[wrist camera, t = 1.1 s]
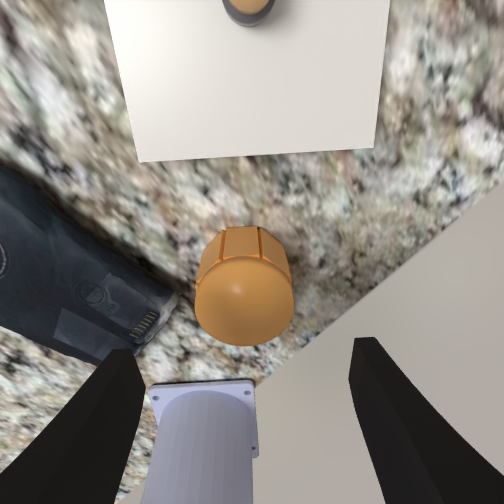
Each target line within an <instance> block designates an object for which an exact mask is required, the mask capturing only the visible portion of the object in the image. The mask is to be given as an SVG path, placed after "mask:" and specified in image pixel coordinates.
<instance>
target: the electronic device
mask: <svg viewBox="0 0 504 504" xmlns="http://www.w3.org/2000/svg"><path fill="white" fill-rule="evenodd" d="M181 294H182V293H181V292H178V291H176V290H175V289H173V288H172V287H171V286H170V285H168V284H167V283H165V282H164V281H162V280H161V279H159V278H157V277H156V276H154V275H153V274H151V273H150V272H148V271H147V270H146V269H144V268H143V267H141V266H140V265H138V264H137V263H135V262H134V261H133V260H131V259H130V258H128V257H126V256H125V255H124V254H123V253H121V252H120V251H118V250H116V249H115V248H114V247H113V246H111V245H110V244H109V243H107V242H106V241H104V240H102V239H100V238H98V237H97V236H95V235H94V234H93V233H92V232H91V231H90V230H88V229H86V228H85V227H83V226H82V225H80V224H79V223H77V222H75V221H73V220H72V219H71V218H70V217H68V216H67V215H66V214H64V213H63V212H62V211H60V210H58V209H57V208H56V207H55V206H54V205H53V203H52V202H51V201H50V200H49V199H48V198H47V197H46V196H45V195H44V194H43V193H42V192H41V191H40V190H39V189H38V187H36V186H34V185H32V184H31V183H29V182H28V181H27V180H26V179H25V178H24V177H23V176H22V175H20V174H19V173H17V172H15V171H13V170H12V169H10V168H8V167H6V166H4V165H2V164H0V326H2V327H4V328H6V329H9V330H11V331H13V332H16V333H18V334H21V335H22V336H24V337H26V338H28V339H30V340H32V341H35V342H37V343H39V344H41V345H43V346H46V347H48V348H51V349H53V350H55V351H57V352H59V353H61V354H63V355H66V356H70V357H75V358H77V359H80V360H82V361H83V362H87V363H91V364H93V365H95V366H97V367H98V366H99V365H100V363H101V362H102V361H103V360H104V359H105V357H106V356H107V355H108V354H109V353H110V351H111V350H112V349H126V348H131V349H132V352H133V354H134V357H136V355H137V354H138V353H139V352H140V351H141V350H142V349H143V348H144V347H145V346H146V345H147V344H148V343H149V342H150V340H151V339H152V338H153V337H154V336H155V335H156V334H157V333H158V332H159V330H160V329H161V328H162V327H163V325H164V324H165V323H166V322H167V320H168V319H169V317H170V316H171V311H172V310H173V308H174V307H176V305H177V302H178V298H179V295H181Z"/></svg>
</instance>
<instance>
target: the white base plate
mask: <svg viewBox="0 0 504 504" xmlns="http://www.w3.org/2000/svg"><path fill="white" fill-rule="evenodd" d="M104 2H105V7H106V11H107V16H108V21H109V25H110V30H111V35H112V39H113V44H114V49H115V53H116V58H117V62H118V67H119V72H120V76H121V81H122V86H123V90H124V95H125V100H126V104H127V109H128V114H129V118H130V123H131V128H132V132H133V137H134V142H135V146H136V151H137V156H138V160H139V162H153V161H169V160H185V159H201V158H217V157H233V156H249V155H265V154H281V153H297V152H313V151H329V150H345V149H362V148H373V147H374V138H375V129H376V120H377V112H378V103H379V94H380V85H381V76H382V67H383V59H384V50H385V41H386V32H387V23H388V14H389V5H390V0H104Z"/></svg>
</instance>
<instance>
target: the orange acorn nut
mask: <svg viewBox="0 0 504 504" xmlns="http://www.w3.org/2000/svg"><path fill="white" fill-rule="evenodd" d="M195 288H196V294H197V295H196V299H195V313H196V317H197V320H198V322H199V323H200V325H201V327H202V328H203V329H204V330H205V331H206V332H207V333H208V334H209V335H210V336H212V337H213V338H215V339H217V340H219V341H221V342H223V343H226V344H230V345H235V346H254V345H259V344H262V343H265V342H268V341H270V340H272V339H274V338H275V337H277V336H278V335H280V334H281V333H282V332H283V331H284V330H285V329H286V328H287V326H288V325H289V323H290V322H291V319H292V317H293V314H294V307H295V305H294V298H293V293H292V278H291V274H290V269H289V265H288V261H287V257H286V253H285V249H284V248H283V245H282V244H281V243H280V242H278V241H277V240H276V239H275V238H273V237H272V236H271V235H270V234H269V233H267V232H266V231H265V230H264V229H262V228H260V229H259V230H258V231H257V226H249V227H233V228H226V232H225V231H224V230H222V231H221V232H220V233H219V234H218V235H217V236H216V237H215V238H214V239H213V240H212V242H211V243H210V244H209V245H208V246H207V247H206V248H205V249H204V250H203V254H202V258H201V262H200V267H199V271H198V276H197V280H196V284H195Z"/></svg>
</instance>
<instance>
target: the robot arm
mask: <svg viewBox="0 0 504 504" xmlns="http://www.w3.org/2000/svg"><path fill="white" fill-rule="evenodd" d="M348 380H349V384H350V389H351V394H352V398H353V403H354V407H355V411H356V414H357V418H358V421H359V424H360V427H361V430H362V433H363V436H364V438H365V442H366V445H367V447H368V451H369V454H370V457H371V460H372V463H373V466H374V469H375V472H376V475H377V478H378V481H379V484H380V487H381V490H382V493H383V496H384V500H385V503H386V504H504V476H503V475H502V474H501V473H500V472H499V471H498V470H497V469H495V468H494V467H493V466H492V465H491V464H490V463H489V462H488V461H487V460H486V459H484V457H482V456H481V455H480V454H479V453H478V452H477V451H476V450H475V449H474V448H473V447H472V446H471V445H470V444H469V443H468V442H467V441H465V439H464V438H463V437H462V436H461V435H460V434H459V433H458V432H456V430H454V428H453V427H452V426H451V425H450V424H449V423H448V422H447V421H446V420H445V419H444V418H443V417H442V416H441V415H440V414H439V413H438V412H437V411H436V409H434V408H433V406H432V405H431V404H430V403H429V402H428V401H427V400H426V398H425V397H424V396H423V395H422V394H421V393H420V392H419V390H418V389H417V388H416V387H415V386H414V385H413V384H412V383H411V381H410V380H409V379H408V378H407V377H406V375H405V374H404V373H403V372H402V371H401V370H400V368H399V367H398V366H397V365H396V363H395V362H394V361H393V360H392V358H391V357H390V356H389V355H388V353H387V352H386V351H385V349H384V348H383V347H382V346H381V344H380V343H379V342H378V340H377V339H376V338H375V337H363V338H355V339H354V346H353V352H352V358H351V365H350V371H349V378H348ZM145 389H146V387H145V384H144V381H143V379H142V376H141V373H140V371H139V368H138V365H137V362H136V360H135V357H134V354H133V352H132V349H131V348H126V349H112V350H111V351H110V353H109V354H108V355H107V356H106V357H105V359H104V360H103V361H102V362H101V363H100V365H99V366H98V367H97V368H96V370H95V371H94V372H93V373H92V374H91V376H90V377H89V378H88V379H87V380H86V382H85V383H84V384H83V385H82V386H81V388H80V389H79V390H78V391H77V392H76V393H75V395H74V396H73V397H72V398H71V399H70V400H69V402H68V403H67V404H66V405H65V406H64V407H63V409H62V410H61V411H60V412H59V413H58V414H57V415H56V417H55V418H54V419H53V420H52V421H51V422H50V423H49V424H48V425H47V426H46V427H45V428H44V430H43V431H42V432H41V433H40V434H39V435H38V436H37V437H36V438H35V439H34V440H33V441H32V442H31V443H30V445H29V446H28V447H27V448H26V449H25V450H24V451H23V452H22V453H21V454H20V455H19V456H18V457H17V458H16V459H15V460H14V461H13V462H12V463H11V464H10V465H9V466H8V467H7V468H6V469H5V470H3V471H2V472H1V473H0V504H114V502H115V498H116V495H117V492H118V489H119V485H120V482H121V479H122V476H123V473H124V469H125V466H126V463H127V460H128V457H129V453H130V450H131V447H132V444H133V441H134V437H135V434H136V431H137V427H138V424H139V421H140V416H141V411H142V406H143V401H144V395H145ZM148 395H149V398H150V401H151V405H152V408H153V411H154V415H155V418H156V421H157V425H158V432H157V436H156V440H155V444H154V448H153V452H152V457H151V461H150V465H149V469H148V473H147V478H146V482H145V486H144V490H143V494H142V499H141V503H140V504H253V484H252V483H253V478H252V458H256V457H257V456H259V447H258V434H257V422H256V409H255V395H254V384H253V382H252V381H250V380H237V381H220V382H203V383H186V384H169V385H154V386H151V387H150V388H149V391H148Z"/></svg>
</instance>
